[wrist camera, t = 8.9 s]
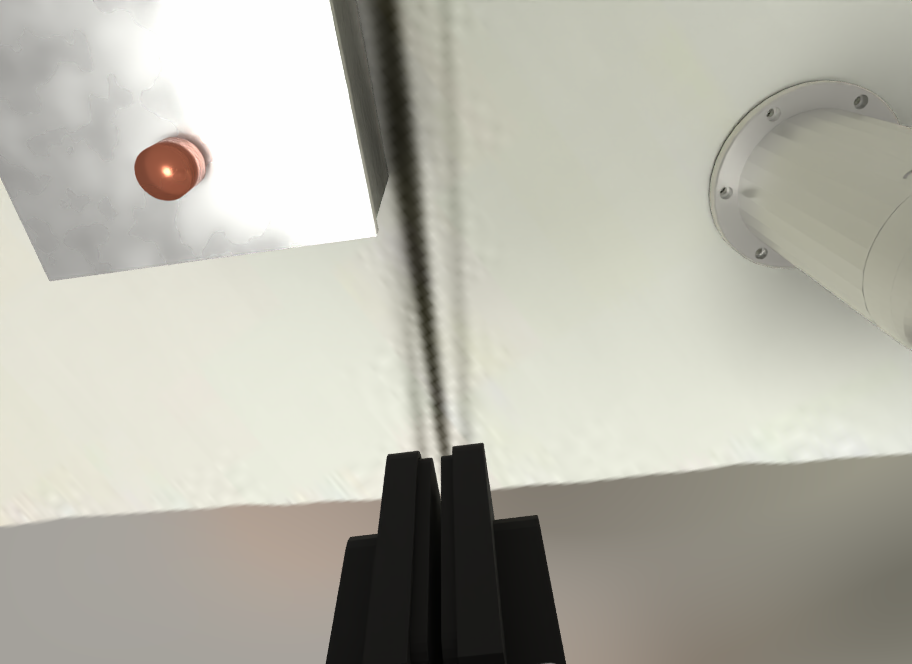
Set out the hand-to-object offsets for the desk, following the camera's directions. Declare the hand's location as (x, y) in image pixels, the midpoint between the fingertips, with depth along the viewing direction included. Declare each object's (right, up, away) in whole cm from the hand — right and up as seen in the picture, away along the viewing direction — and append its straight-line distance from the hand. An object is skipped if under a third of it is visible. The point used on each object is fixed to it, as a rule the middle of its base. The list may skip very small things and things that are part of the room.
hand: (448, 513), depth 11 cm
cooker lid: (-14, +16, +17) cm, 27 cm away
